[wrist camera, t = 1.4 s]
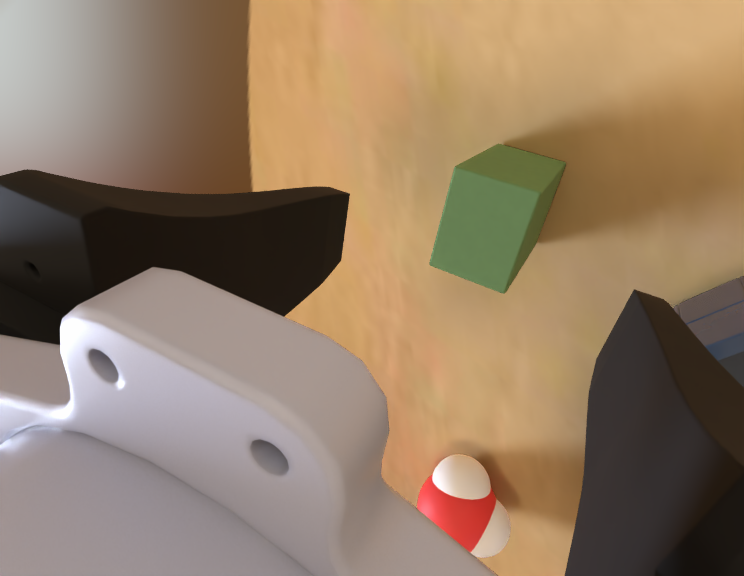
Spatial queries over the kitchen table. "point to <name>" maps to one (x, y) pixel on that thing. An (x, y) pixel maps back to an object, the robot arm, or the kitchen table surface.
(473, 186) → the green block
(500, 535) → the molecule
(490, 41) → the kitchen table surface
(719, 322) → the bowl
